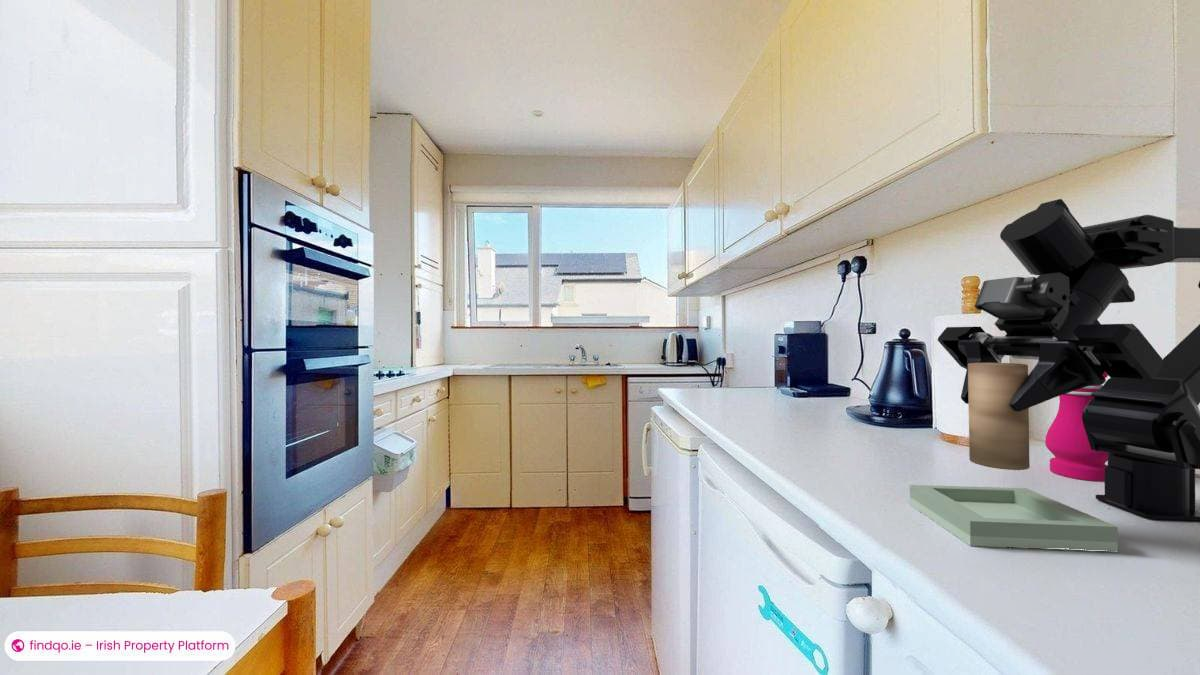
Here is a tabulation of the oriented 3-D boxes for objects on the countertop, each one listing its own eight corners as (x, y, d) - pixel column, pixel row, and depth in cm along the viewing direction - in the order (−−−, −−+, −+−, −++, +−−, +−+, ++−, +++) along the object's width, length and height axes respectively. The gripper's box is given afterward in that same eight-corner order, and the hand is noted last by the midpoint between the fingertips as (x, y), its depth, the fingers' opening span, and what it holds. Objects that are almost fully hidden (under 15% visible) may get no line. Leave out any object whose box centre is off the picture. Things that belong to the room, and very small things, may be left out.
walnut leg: (988, 454, 53) (986, 362, 53) (1040, 466, 49) (1039, 364, 48) (958, 459, 52) (956, 364, 52) (1009, 472, 47) (1008, 367, 47)
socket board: (1026, 508, 55) (1025, 488, 55) (1117, 552, 44) (1117, 526, 44) (910, 504, 56) (909, 484, 56) (970, 545, 45) (970, 521, 45)
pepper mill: (1082, 468, 70) (1082, 340, 70) (1132, 483, 63) (1132, 340, 63) (1032, 467, 71) (1031, 340, 71) (1075, 482, 64) (1075, 341, 64)
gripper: (948, 266, 60) (876, 351, 58) (1138, 235, 41) (1040, 358, 40) (999, 324, 61) (929, 409, 59) (1203, 320, 43) (1112, 443, 41)
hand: (987, 404), depth 50 cm, fingers closed on walnut leg, 5 cm apart
